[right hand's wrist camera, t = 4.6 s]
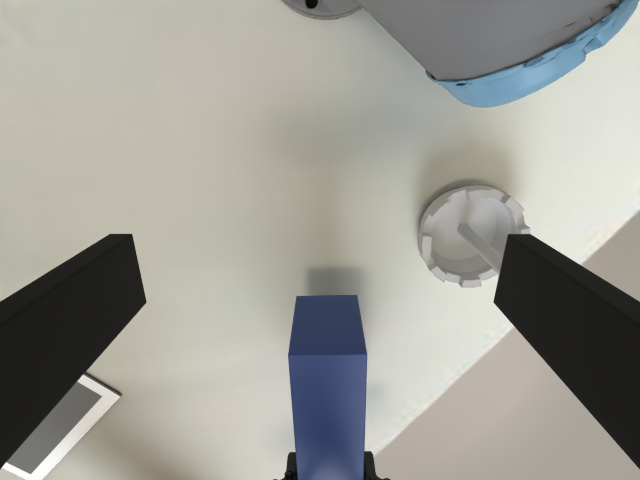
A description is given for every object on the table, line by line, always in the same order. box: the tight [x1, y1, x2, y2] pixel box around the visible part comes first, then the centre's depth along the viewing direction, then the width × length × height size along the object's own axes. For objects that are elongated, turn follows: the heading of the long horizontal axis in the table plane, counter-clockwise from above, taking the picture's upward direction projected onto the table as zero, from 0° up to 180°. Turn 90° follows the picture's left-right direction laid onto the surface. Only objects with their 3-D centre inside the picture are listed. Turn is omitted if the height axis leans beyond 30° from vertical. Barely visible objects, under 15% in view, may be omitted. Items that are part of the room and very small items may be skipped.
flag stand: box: [417, 185, 530, 288], centre depth 34 cm, size 13×13×30 cm
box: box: [288, 295, 367, 480], centre depth 42 cm, size 25×8×11 cm, turn 2°
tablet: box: [2, 373, 121, 480], centre depth 62 cm, size 32×20×1 cm, turn 137°
